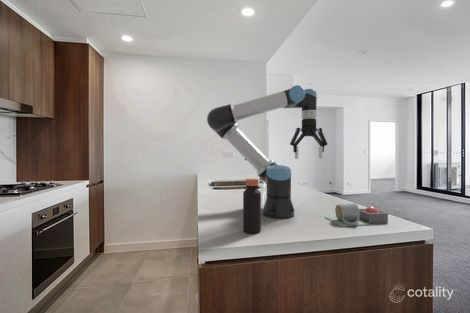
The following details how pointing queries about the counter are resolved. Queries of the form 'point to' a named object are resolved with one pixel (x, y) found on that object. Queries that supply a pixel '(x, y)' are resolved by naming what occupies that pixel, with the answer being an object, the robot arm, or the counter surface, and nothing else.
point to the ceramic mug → (348, 213)
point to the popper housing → (373, 217)
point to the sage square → (342, 223)
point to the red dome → (371, 210)
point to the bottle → (252, 207)
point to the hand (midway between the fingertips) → (308, 158)
